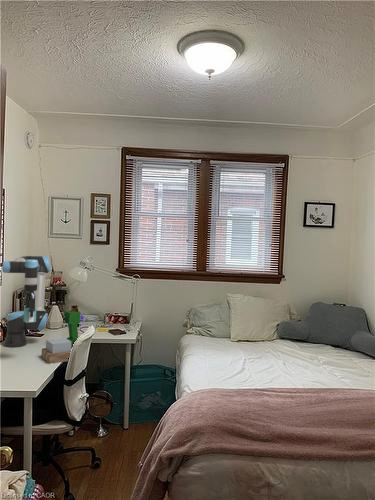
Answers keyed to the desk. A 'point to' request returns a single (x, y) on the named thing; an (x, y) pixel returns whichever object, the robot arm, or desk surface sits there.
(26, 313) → the block
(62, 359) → the tower base
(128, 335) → the desk surface
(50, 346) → the tower top
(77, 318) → the toy
